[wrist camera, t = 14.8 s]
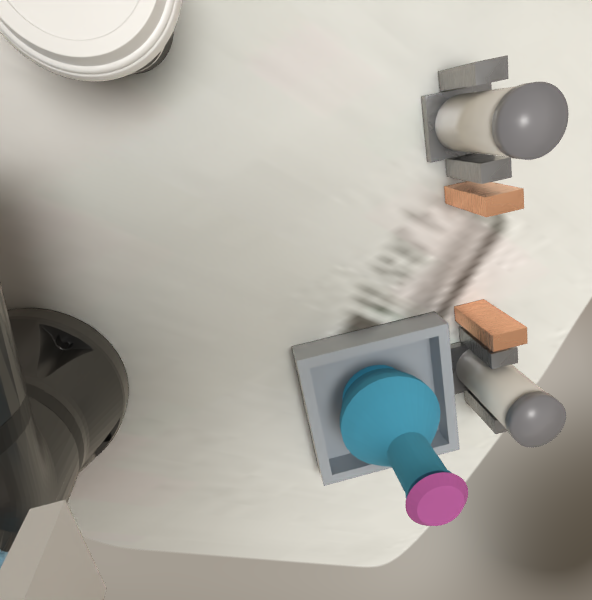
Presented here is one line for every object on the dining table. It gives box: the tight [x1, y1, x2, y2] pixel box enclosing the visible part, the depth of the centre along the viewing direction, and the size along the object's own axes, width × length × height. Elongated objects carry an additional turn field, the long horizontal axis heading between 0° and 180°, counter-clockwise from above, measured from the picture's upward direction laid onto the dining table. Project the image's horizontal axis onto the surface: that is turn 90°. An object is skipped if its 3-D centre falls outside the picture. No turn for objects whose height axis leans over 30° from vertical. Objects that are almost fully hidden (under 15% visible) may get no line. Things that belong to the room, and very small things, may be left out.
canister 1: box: [435, 82, 568, 160], centre depth 35 cm, size 5×5×10 cm
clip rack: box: [421, 55, 527, 434], centre depth 41 cm, size 6×31×7 cm, turn 12°
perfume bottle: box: [340, 365, 468, 526], centre depth 41 cm, size 9×9×15 cm
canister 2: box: [456, 349, 566, 447], centre depth 43 cm, size 5×5×10 cm
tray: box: [292, 312, 459, 486], centre depth 47 cm, size 14×14×3 cm
